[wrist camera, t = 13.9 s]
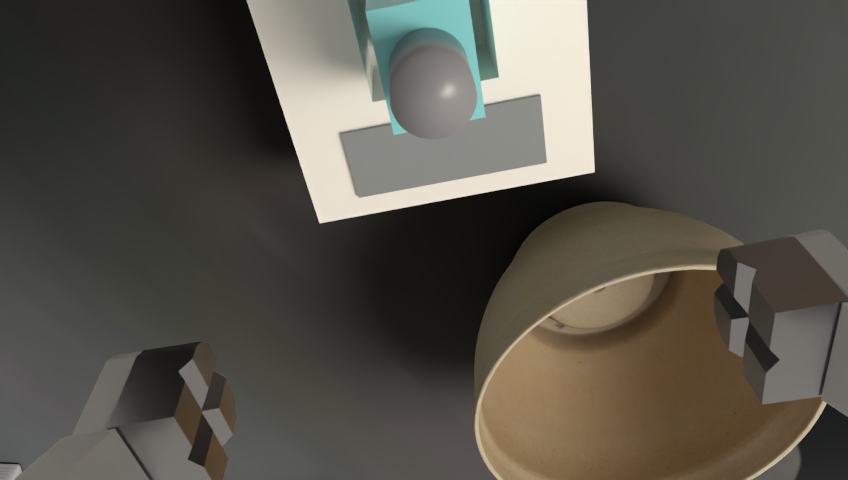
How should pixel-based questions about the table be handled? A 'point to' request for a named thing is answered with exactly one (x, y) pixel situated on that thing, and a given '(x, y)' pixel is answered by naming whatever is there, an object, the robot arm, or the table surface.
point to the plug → (426, 64)
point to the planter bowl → (620, 358)
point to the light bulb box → (9, 471)
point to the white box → (413, 156)
